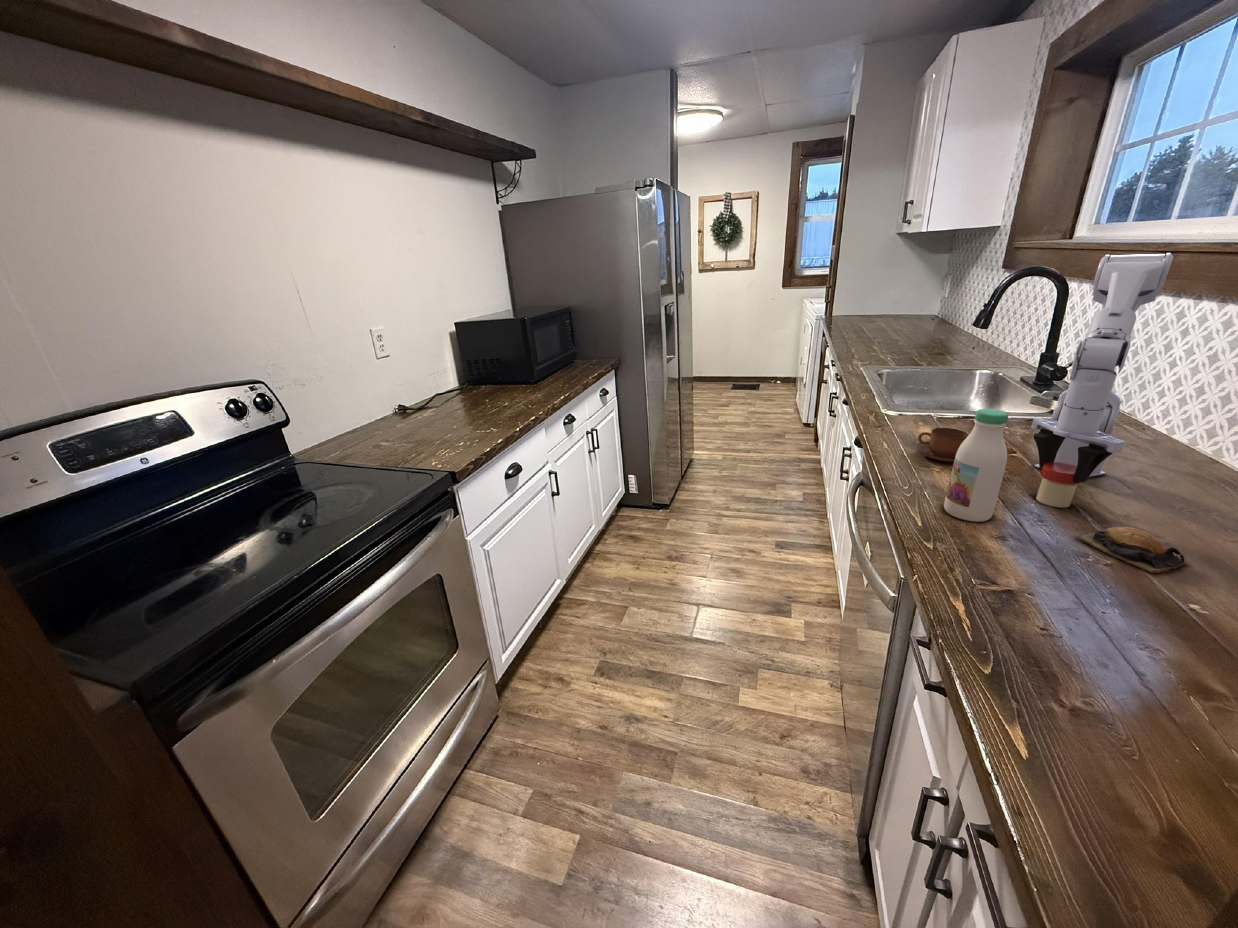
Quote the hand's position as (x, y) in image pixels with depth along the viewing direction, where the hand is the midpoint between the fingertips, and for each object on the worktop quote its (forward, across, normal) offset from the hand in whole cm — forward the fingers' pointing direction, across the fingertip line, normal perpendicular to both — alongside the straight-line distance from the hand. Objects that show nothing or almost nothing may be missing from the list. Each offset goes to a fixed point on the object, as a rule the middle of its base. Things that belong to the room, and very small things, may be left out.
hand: (1061, 475), depth 95 cm
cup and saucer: (+6, -25, -1) cm, 26 cm away
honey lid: (-1, 0, 0) cm, 1 cm away
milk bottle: (+6, -1, -19) cm, 20 cm away
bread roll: (+6, +17, -6) cm, 19 cm away
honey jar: (+6, 0, 0) cm, 6 cm away
